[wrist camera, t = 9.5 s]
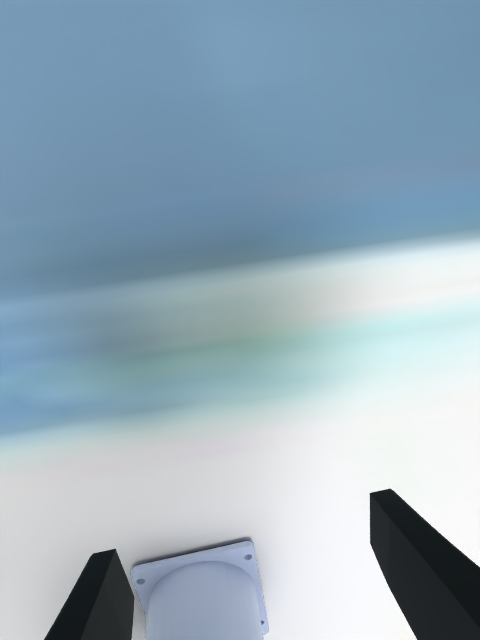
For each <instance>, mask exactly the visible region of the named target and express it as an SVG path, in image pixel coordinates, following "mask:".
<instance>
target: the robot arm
mask: <svg viewBox="0 0 480 640" xmlns="http://www.w3.org/2000/svg"><path fill="white" fill-rule="evenodd" d="M370 544H371V546H372V549H373V551H374V553H375V556H376V558H377V561H378V563H379V565H380V568H381V570H382V572H383V575H384V577H385V579H386V582H387V584H388V586H389V588H390V590H391V592H392V594H393V595H394V597H395V599H396V601H397V603H398V605H399V607H400V609H401V610H402V612H403V614H404V616H405V618H406V620H407V622H408V623H409V625H410V627H411V629H412V631H413V633H414V635H415V636H416V638H417V640H480V567H479V566H477V565H476V564H475V563H474V562H473V561H471V560H470V559H469V558H468V557H467V556H466V555H464V554H463V553H462V552H461V551H460V550H459V549H457V548H456V547H455V546H454V545H453V544H451V543H450V542H449V541H448V540H447V539H446V538H445V537H443V536H442V535H441V534H440V533H439V532H438V531H437V530H436V529H434V528H433V527H432V526H431V525H430V524H429V523H428V522H427V521H426V520H424V519H423V518H422V517H421V516H420V515H419V514H418V513H417V512H416V511H415V510H414V509H412V508H411V507H410V506H409V505H408V504H407V503H406V502H405V501H404V500H403V499H402V498H401V497H400V496H399V495H397V494H396V493H395V492H394V491H393V490H392V489H386V490H382V491H377V492H373V493H370ZM131 578H132V581H133V584H134V586H135V589H136V592H137V594H138V597H139V599H140V602H141V605H142V607H143V610H144V613H145V615H146V618H147V623H146V632H145V640H264V639H263V635H265V634H267V633H268V631H269V626H268V621H267V615H266V610H265V604H264V599H263V593H262V588H261V582H260V576H259V571H258V565H257V560H256V554H255V549H254V544H253V543H252V542H250V541H244V542H240V543H235V544H231V545H227V546H222V547H218V548H213V549H209V550H204V551H200V552H195V553H191V554H186V555H182V556H177V557H173V558H168V559H164V560H159V561H155V562H150V563H146V564H141V565H137V566H135V567H134V568H133V569H132V572H131ZM133 611H134V595H133V592H132V590H131V587H130V585H129V582H128V580H127V577H126V574H125V572H124V569H123V567H122V564H121V561H120V559H119V556H118V554H117V551H116V549H112V550H108V551H103V552H99V553H94V554H92V556H91V557H90V558H89V560H88V562H87V564H86V566H85V568H84V569H83V571H82V573H81V575H80V577H79V579H78V580H77V582H76V584H75V586H74V588H73V590H72V591H71V593H70V595H69V597H68V599H67V601H66V602H65V604H64V606H63V608H62V609H61V611H60V613H59V615H58V617H57V618H56V620H55V622H54V624H53V625H52V627H51V629H50V630H49V632H48V634H47V636H46V637H45V639H44V640H131V638H132V626H133Z"/></svg>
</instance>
